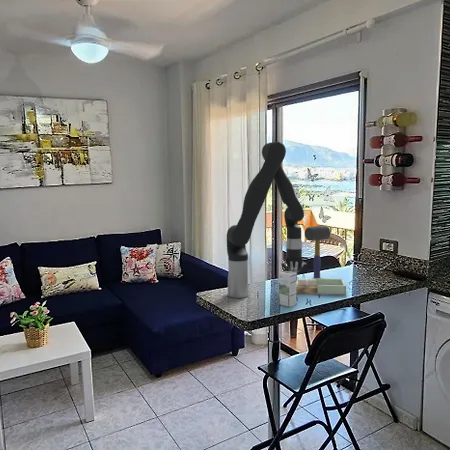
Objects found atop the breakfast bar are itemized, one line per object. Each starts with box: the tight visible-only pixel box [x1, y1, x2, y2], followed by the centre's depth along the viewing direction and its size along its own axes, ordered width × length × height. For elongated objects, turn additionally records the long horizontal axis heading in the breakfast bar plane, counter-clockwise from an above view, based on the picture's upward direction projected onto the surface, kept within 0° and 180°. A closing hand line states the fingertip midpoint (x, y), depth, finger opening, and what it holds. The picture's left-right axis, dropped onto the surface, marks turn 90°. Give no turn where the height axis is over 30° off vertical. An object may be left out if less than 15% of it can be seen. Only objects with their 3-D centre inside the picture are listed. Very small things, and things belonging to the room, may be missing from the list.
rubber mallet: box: [304, 225, 331, 278], centre depth 220 cm, size 12×8×30 cm, turn 117°
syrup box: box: [278, 270, 297, 308], centre depth 184 cm, size 6×6×14 cm
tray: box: [316, 277, 347, 296], centre depth 206 cm, size 13×14×4 cm
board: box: [296, 280, 318, 295], centre depth 208 cm, size 12×12×3 cm
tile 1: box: [297, 277, 307, 285], centre depth 208 cm, size 4×4×2 cm
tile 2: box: [306, 277, 316, 285], centre depth 207 cm, size 4×4×2 cm
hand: (293, 281), depth 208 cm, fingers closed
